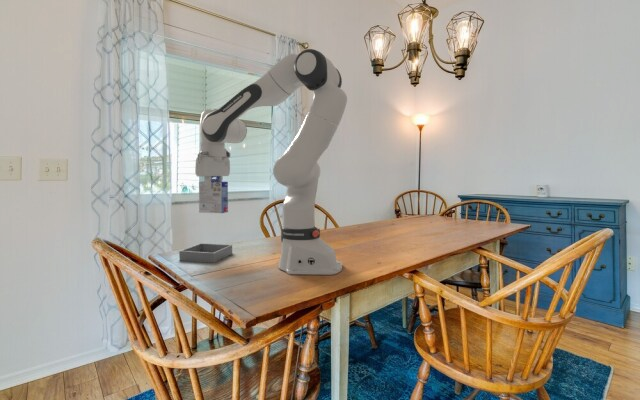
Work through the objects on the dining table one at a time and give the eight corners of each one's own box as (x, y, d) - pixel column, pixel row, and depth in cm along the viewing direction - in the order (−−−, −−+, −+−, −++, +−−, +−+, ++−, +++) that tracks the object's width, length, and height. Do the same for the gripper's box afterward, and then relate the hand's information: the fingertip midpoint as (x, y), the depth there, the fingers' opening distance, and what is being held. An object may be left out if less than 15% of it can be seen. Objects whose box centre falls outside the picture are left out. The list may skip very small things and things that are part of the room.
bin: (232, 253, 136) (232, 245, 136) (214, 262, 122) (213, 253, 122) (200, 251, 139) (200, 243, 139) (179, 260, 125) (179, 251, 125)
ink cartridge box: (228, 212, 133) (228, 175, 132) (222, 213, 128) (221, 175, 126) (206, 211, 135) (205, 175, 134) (198, 212, 130) (198, 175, 128)
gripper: (206, 150, 119) (207, 189, 120) (232, 153, 139) (233, 187, 140) (190, 151, 120) (191, 189, 121) (218, 154, 140) (219, 187, 141)
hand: (214, 188), depth 131 cm, fingers closed on ink cartridge box, 5 cm apart
